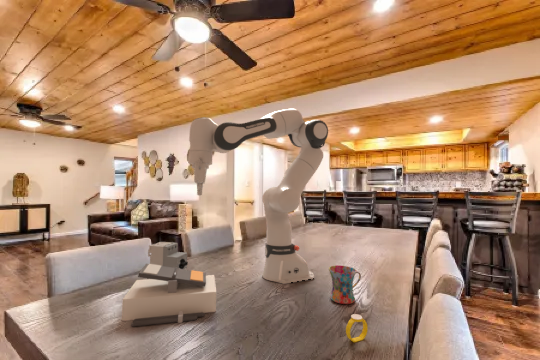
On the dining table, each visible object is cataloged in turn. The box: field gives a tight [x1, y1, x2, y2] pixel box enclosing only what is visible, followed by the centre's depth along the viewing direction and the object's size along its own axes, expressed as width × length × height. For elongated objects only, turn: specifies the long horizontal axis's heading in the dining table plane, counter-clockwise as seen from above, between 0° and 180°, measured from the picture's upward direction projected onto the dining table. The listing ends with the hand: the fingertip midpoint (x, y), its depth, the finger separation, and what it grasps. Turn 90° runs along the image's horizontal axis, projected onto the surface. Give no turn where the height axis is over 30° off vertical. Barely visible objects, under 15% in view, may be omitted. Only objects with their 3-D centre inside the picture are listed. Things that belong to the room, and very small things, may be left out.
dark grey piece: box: [131, 311, 205, 328], centre depth 73 cm, size 19×3×2 cm, turn 104°
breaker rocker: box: [137, 263, 207, 286], centre depth 84 cm, size 20×10×2 cm, turn 104°
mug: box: [328, 264, 362, 305], centre depth 89 cm, size 12×9×11 cm
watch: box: [345, 313, 369, 344], centre depth 65 cm, size 6×3×6 cm, turn 114°
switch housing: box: [121, 268, 217, 322], centre depth 84 cm, size 26×16×10 cm, turn 104°
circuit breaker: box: [146, 241, 189, 279], centre depth 103 cm, size 8×14×15 cm, turn 78°
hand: (199, 195), depth 99 cm, fingers closed
